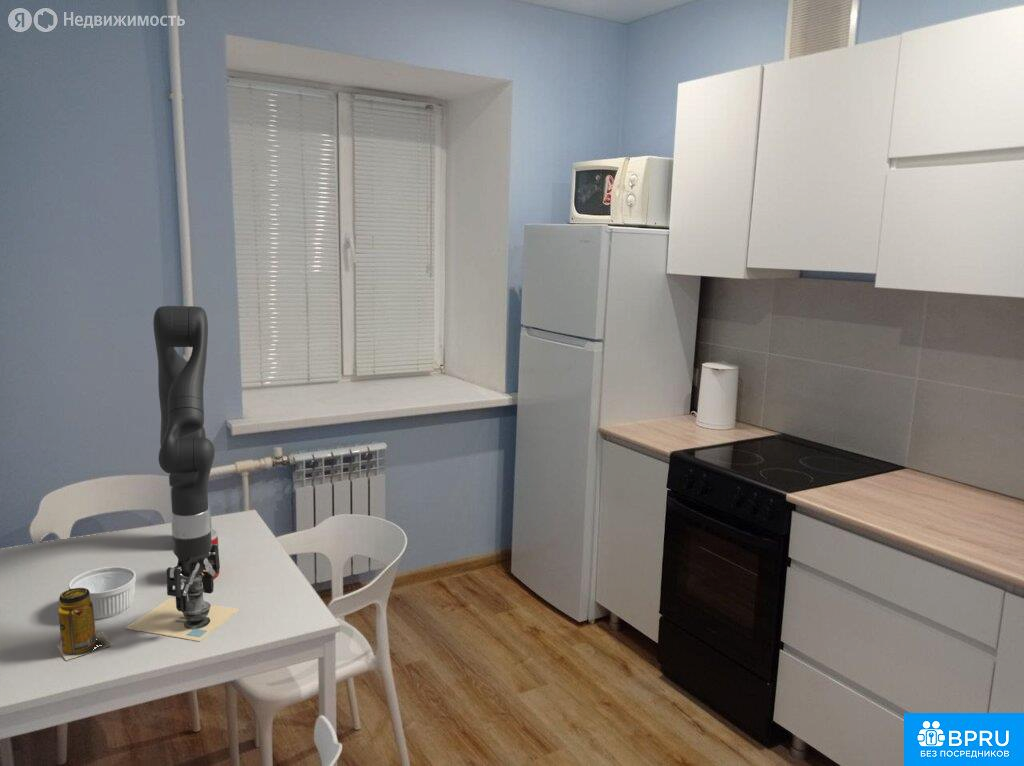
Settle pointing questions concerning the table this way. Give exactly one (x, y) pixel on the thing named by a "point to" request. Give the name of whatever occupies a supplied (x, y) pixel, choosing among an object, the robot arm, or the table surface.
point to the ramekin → (108, 589)
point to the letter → (179, 621)
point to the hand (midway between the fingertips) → (195, 601)
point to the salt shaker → (196, 606)
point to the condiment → (78, 624)
